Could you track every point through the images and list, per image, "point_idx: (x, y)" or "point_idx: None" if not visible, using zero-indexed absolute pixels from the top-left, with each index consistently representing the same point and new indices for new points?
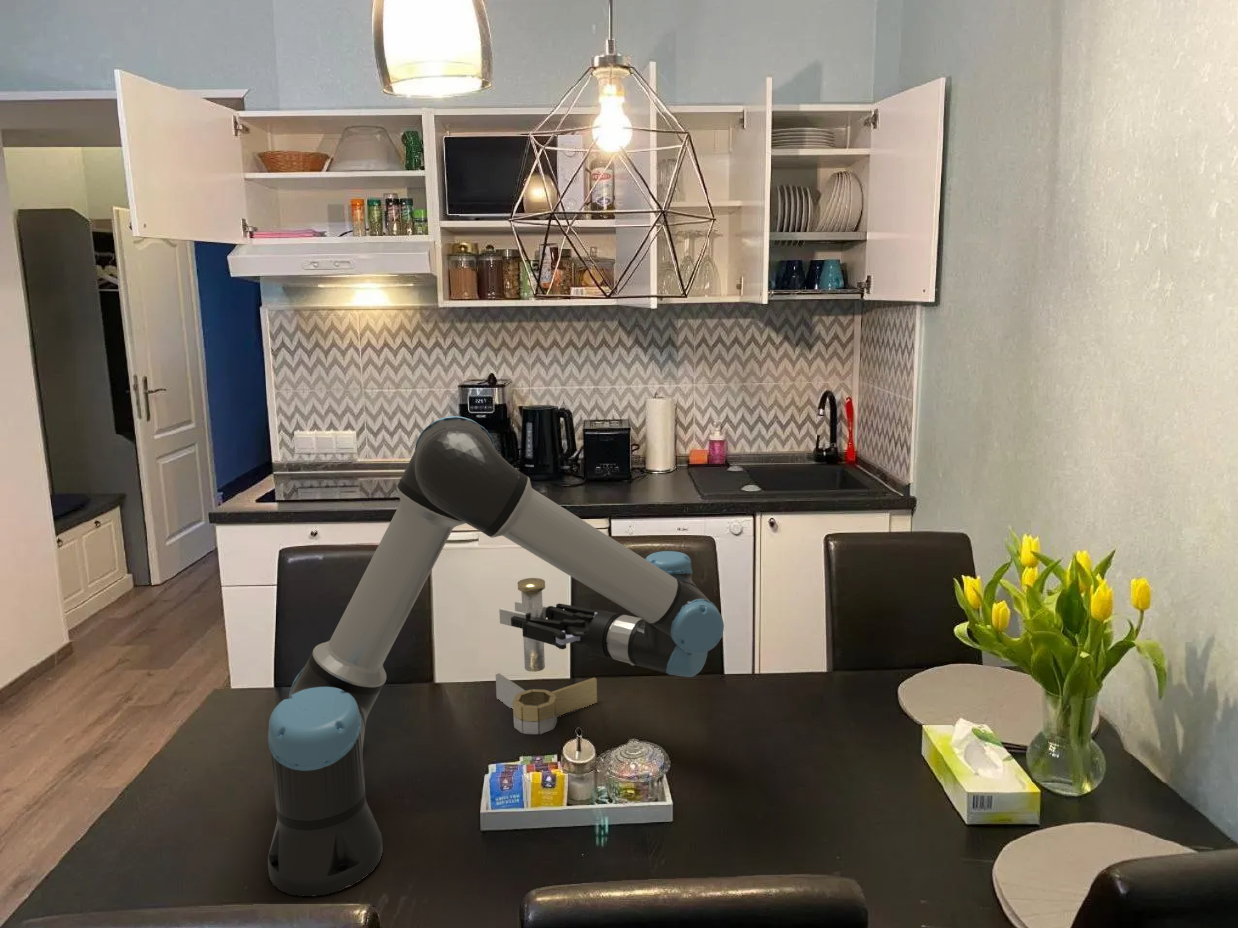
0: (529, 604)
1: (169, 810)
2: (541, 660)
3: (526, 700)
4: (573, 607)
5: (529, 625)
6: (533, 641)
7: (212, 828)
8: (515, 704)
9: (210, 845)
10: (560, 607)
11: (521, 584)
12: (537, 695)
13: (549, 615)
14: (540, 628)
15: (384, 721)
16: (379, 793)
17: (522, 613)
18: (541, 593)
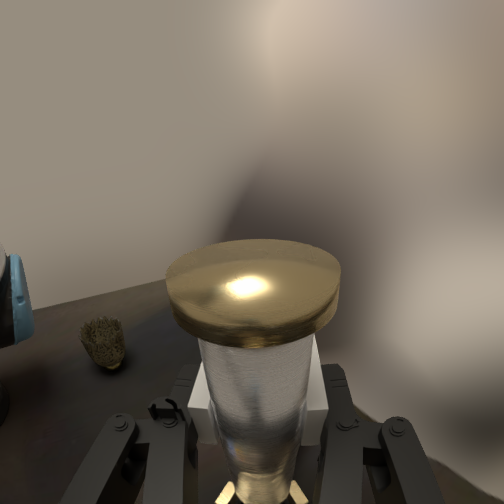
0: (204, 371)
1: (49, 320)
2: (255, 501)
3: None
4: (422, 497)
5: (91, 447)
6: (231, 468)
7: (27, 343)
8: (225, 488)
9: (12, 349)
10: (385, 450)
11: (199, 255)
12: (289, 496)
13: (324, 446)
14: (65, 495)
15: (183, 363)
16: (51, 416)
17: (204, 380)
18: (276, 359)
